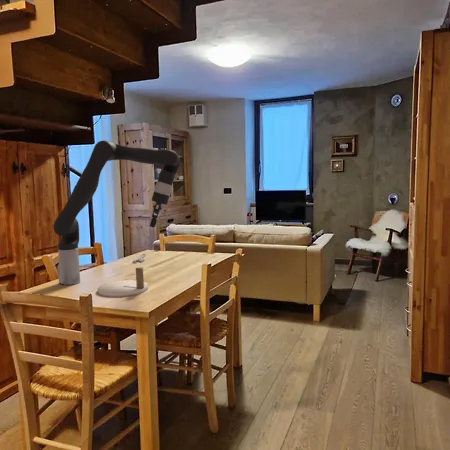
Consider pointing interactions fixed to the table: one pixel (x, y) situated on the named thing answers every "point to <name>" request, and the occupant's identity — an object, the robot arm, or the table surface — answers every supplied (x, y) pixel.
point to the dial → (125, 286)
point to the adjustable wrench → (140, 259)
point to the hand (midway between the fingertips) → (152, 226)
